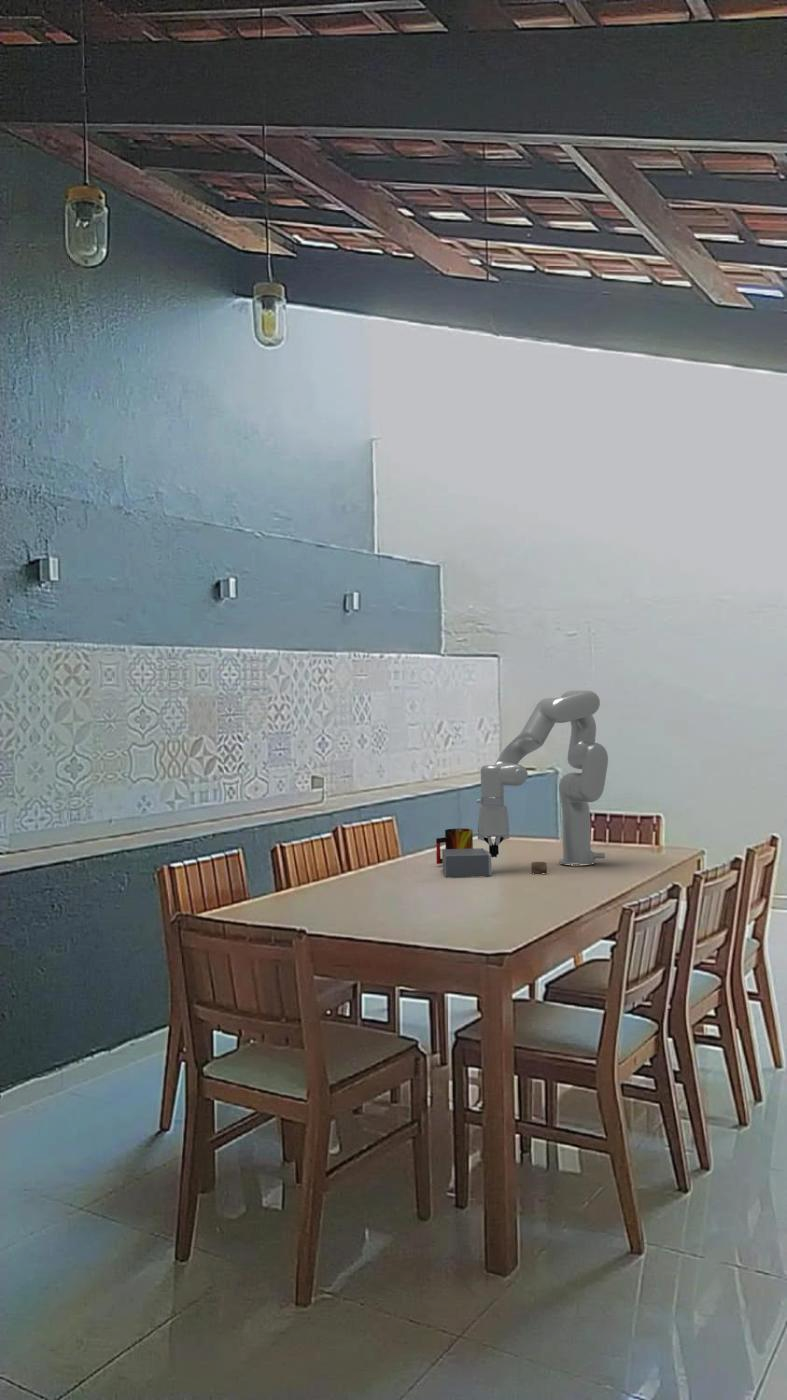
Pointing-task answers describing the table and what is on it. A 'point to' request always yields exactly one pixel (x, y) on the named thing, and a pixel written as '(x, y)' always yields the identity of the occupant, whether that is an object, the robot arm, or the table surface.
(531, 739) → the robot arm
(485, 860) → the housing
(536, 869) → the brown short rounded cylinder
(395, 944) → the table surface
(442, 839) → the mug
